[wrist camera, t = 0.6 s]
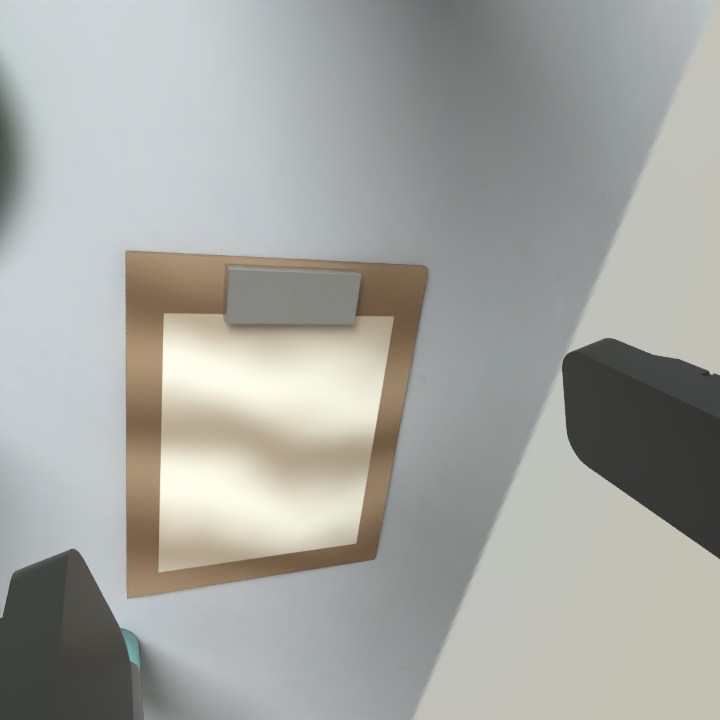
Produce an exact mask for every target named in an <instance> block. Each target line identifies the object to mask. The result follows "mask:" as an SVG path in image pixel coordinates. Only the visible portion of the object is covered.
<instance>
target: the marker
mask: <svg viewBox="0 0 720 720" xmlns="http://www.w3.org/2000/svg"><path fill="white" fill-rule="evenodd" d="M121 632H122V634H123V637H124V640H125V643H126V646H127V650H128V654H129V658H130V664H131V673H132V695H133V719H134V720H144V714H143V700H142V686H141V672H140V658H139V644H138V640H137V638H136V636H135V635H134V634H133V633H131V632H130V631H128V630H125V629H121Z"/></svg>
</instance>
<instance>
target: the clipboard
mask: <svg viewBox="0 0 720 720" xmlns="http://www.w3.org/2000/svg"><path fill="white" fill-rule="evenodd" d="M427 274H428V268H426V267H425V266H421V265H401V264H381V263H361V262H342V261H322V260H302V259H282V258H262V257H242V256H223V255H203V254H183V253H163V252H143V251H126V520H127V599H129V598H135V597H142V596H148V595H154V594H160V593H167V592H173V591H179V590H185V589H192V588H198V587H204V586H211V585H217V584H223V583H229V582H236V581H242V580H248V579H254V578H261V577H267V576H273V575H279V574H286V573H292V572H298V571H304V570H311V569H317V568H323V567H330V566H336V565H342V564H348V563H355V562H361V561H367V560H373V559H375V557H376V552H377V546H378V541H379V535H380V530H381V525H382V519H383V514H384V508H385V503H386V497H387V492H388V487H389V481H390V476H391V470H392V465H393V459H394V454H395V448H396V443H397V438H398V432H399V427H400V421H401V416H402V410H403V405H404V399H405V394H406V389H407V383H408V378H409V372H410V367H411V361H412V356H413V351H414V345H415V340H416V334H417V329H418V323H419V318H420V312H421V307H422V302H423V296H424V291H425V285H426V280H427Z"/></svg>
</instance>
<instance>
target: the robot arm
mask: <svg viewBox="0 0 720 720" xmlns="http://www.w3.org/2000/svg"><path fill="white" fill-rule="evenodd" d="M562 373H563V385H564V386H563V387H564V400H565V414H566V428H567V435H568V439H569V442H570V444H571V446H572V449H573V450H574V452H575V453H576V455H577V456H578V458H579V459H580V460H581V461H582V462H583V463H584V464H585V465H587V466H588V467H589V468H590V469H592V470H593V471H595V472H596V473H598V474H599V475H601V476H602V477H603V478H605V479H606V480H608V481H609V482H611V483H612V484H614V485H615V486H616V487H618V488H619V489H621V490H622V491H623V492H625V493H626V494H628V495H629V496H630V497H632V498H633V499H635V500H636V501H638V502H639V503H641V504H642V505H643V506H645V507H646V508H648V509H649V510H651V511H652V512H653V513H655V514H656V515H658V516H659V517H661V518H662V519H663V520H665V521H666V522H668V523H669V524H671V525H672V526H673V527H675V528H676V529H678V530H679V531H681V532H682V533H684V534H685V535H686V536H688V537H689V538H691V539H692V540H693V541H695V542H697V543H698V544H699V545H701V546H702V547H703V548H705V549H706V550H708V551H709V552H711V553H712V554H713V555H715V556H716V557H718V558H719V559H720V375H717V374H713V375H710V373H709V371H707V370H705V369H702V368H700V367H697V366H695V365H692V364H690V363H687V362H684V361H682V360H680V359H673V358H668V357H662V356H657V355H652V354H650V353H647V352H645V351H642V350H640V349H637V348H635V347H633V346H630V345H627V344H625V343H623V342H620V341H618V340H615V339H612V338H605V339H602V340H600V341H597V342H595V343H592V344H590V345H588V346H585V347H582V348H580V349H577V350H575V351H572V352H570V353H568V354H567V355H566V356H565V358H564V360H563V364H562ZM0 720H134V719H133V695H132V673H131V664H130V658H129V654H128V650H127V646H126V643H125V640H124V637H123V634H122V632H121V629H120V627H119V625H118V623H117V621H116V619H115V617H114V616H113V614H112V612H111V610H110V608H109V606H108V604H107V602H106V600H105V599H104V597H103V595H102V593H101V591H100V589H99V587H98V585H97V583H96V582H95V580H94V578H93V576H92V574H91V572H90V570H89V568H88V566H87V565H86V563H85V561H84V559H83V557H82V556H81V555H80V553H79V552H78V551H77V550H75V549H70V550H68V551H65V552H63V553H60V554H58V555H55V556H53V557H50V558H48V559H45V560H43V561H40V562H37V563H35V564H32V565H30V566H27V567H25V568H22V569H20V570H17V571H15V572H14V573H13V575H12V578H11V581H10V586H9V590H8V595H7V600H6V604H5V609H4V613H3V618H1V619H0Z"/></svg>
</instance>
